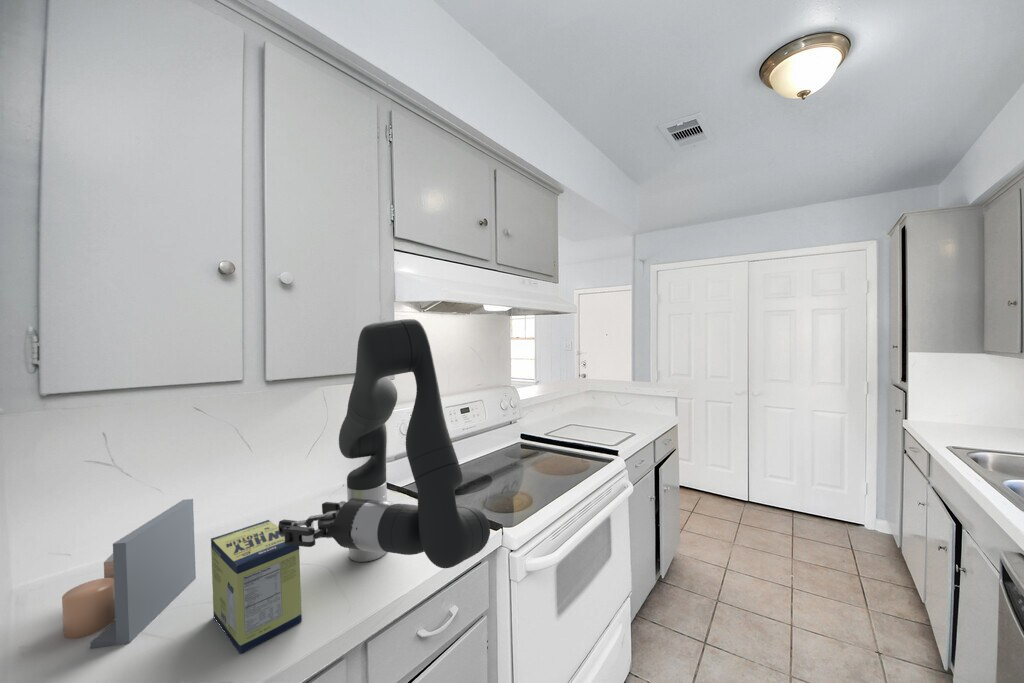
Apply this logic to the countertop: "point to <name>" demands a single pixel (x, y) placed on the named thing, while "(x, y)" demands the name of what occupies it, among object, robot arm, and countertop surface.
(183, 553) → the display board
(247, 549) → the protein box
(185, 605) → the countertop surface
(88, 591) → the tan rounded cylinder
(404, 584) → the countertop surface
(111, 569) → the tea tin
